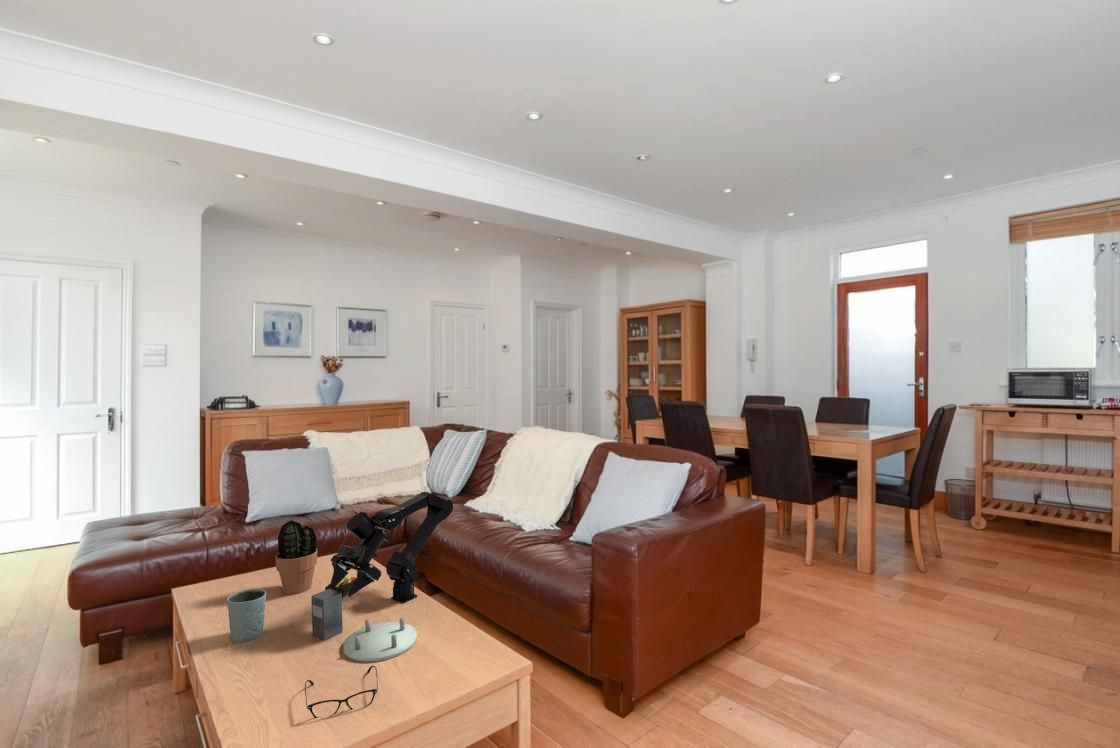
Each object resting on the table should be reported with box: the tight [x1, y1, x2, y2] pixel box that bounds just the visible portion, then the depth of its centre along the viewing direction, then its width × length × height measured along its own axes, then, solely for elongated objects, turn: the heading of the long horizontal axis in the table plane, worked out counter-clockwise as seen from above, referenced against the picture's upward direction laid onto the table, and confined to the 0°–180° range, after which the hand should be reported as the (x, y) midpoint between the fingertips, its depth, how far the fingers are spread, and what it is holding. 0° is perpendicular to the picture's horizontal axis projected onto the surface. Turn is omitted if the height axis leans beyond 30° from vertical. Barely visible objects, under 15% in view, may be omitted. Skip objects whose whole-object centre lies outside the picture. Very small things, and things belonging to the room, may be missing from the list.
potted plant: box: [275, 519, 318, 595], centre depth 197 cm, size 14×14×25 cm
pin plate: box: [343, 617, 418, 663], centre depth 159 cm, size 20×20×4 cm
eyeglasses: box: [304, 665, 379, 719], centre depth 134 cm, size 16×16×4 cm
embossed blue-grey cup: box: [226, 588, 267, 643], centre depth 164 cm, size 10×10×12 cm
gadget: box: [324, 575, 357, 597], centre depth 194 cm, size 6×13×6 cm, turn 173°
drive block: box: [310, 589, 344, 642], centre depth 164 cm, size 6×6×12 cm
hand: (339, 592), depth 168 cm, fingers open, 9 cm apart
